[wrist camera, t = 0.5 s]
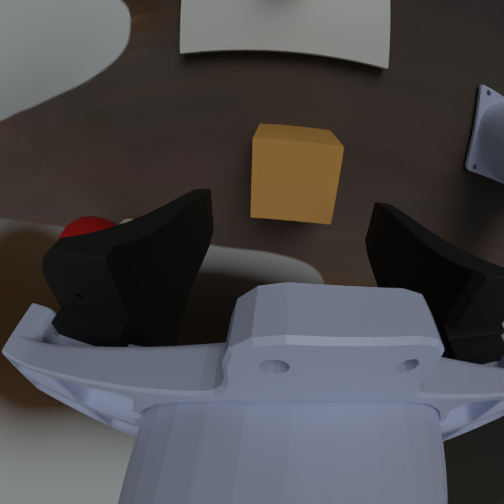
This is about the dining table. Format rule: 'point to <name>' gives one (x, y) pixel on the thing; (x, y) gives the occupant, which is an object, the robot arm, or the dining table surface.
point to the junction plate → (289, 28)
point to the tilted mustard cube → (295, 173)
